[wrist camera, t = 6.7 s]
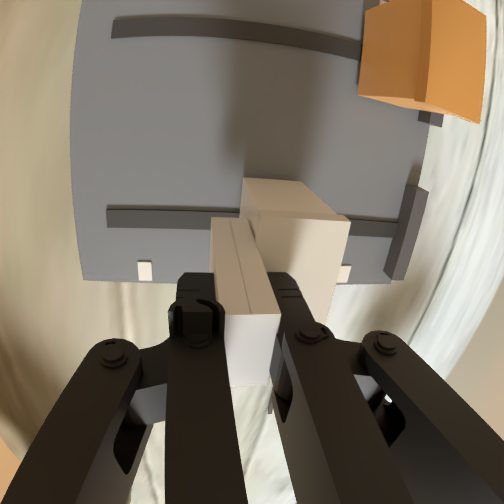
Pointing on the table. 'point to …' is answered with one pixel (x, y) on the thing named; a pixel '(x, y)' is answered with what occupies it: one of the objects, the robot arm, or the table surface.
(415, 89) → the fader orange
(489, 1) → the table surface
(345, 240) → the fader white
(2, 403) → the table surface
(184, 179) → the console board
